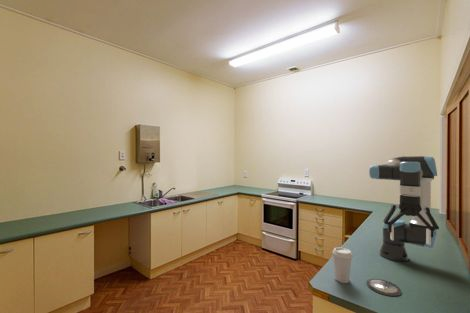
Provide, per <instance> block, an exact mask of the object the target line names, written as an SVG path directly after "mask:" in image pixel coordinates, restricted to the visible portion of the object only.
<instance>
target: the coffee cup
mask: <svg viewBox="0 0 470 313" xmlns="http://www.w3.org/2000/svg"><path fill="white" fill-rule="evenodd" d="M331 253H332V255H333V268H334V278H335V281H337V282H339V283H342V284H343V283H344V284H348V283H349V282H350V276H351V267H352V266H351V265H352V258H353V257H354V255H353V253H352V251H351V250H350V249H348V248H345V247H340V246H339V247H338V246H337V247H334V248H333V250H332V252H331Z"/></svg>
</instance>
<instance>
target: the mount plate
mask: <svg viewBox="0 0 470 313" xmlns="http://www.w3.org/2000/svg"><path fill="white" fill-rule="evenodd" d="M366 286H367V287H368V288H369V289H370V290H372V291H374V292H375V293H377V294H381V295H383V296H386V297H387V296H388V297H398V296H400V295H401V294H402V290H401V288H400V287H399V286H398V285H397V284H394V283H392V282H391V281H387V280H385V279H380V278H370V279H367V280H366Z"/></svg>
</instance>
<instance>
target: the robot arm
mask: <svg viewBox="0 0 470 313" xmlns="http://www.w3.org/2000/svg"><path fill="white" fill-rule="evenodd" d="M368 173H369V177H370V179H371V180H373V179H375V180H388V181H389V180H391V181H392V180H393V181H399V194H400V195H399V205H398V204H394V203H391V206H390V209H389V211H388V213H387V214H386V216H384V218H383V219H384V220H383V221H382V222H383V223H382V244H381V246H380V248H379V255H380V256H381V257H383V258H385V259H387V260H391V261H395V262H407V261H409V255H408V251H407V249H406V244H409V245H414V246H419V247H423V248H427V249H428V248H430V249H432V248H434V247H435V244H436V239H437V233H438V230H439V229H440V227H439V225H438V223H437V221H435V218H434V217H433V215H432V213H431V212H432V210H431V208H432V207H431V206H432V205H431V203H432V202H431V197H432V195H431V194H432V192H431V191H432V186H431V185H432V184H431V182H432V181H433V180H435V177H438V169H437V165H436V159H435V157H433V156H421V155H420V156H415V155H414V156H404V155H403V156H398V157H393V158H391V159H388V160H386V161H385V162H384V163H382V164H372V165H370V166H369V171H368ZM398 209H399V212H398V213H397V214H396V215H394V214H395V212H396V211H397V210H398ZM393 215H394V216H393ZM392 216H393V217H392ZM404 216H407V217H409V216H411V218H412V219H411V220H409V221H408V222H409V223H406V222H405V220H403V219H400V218H402V217H404Z"/></svg>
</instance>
